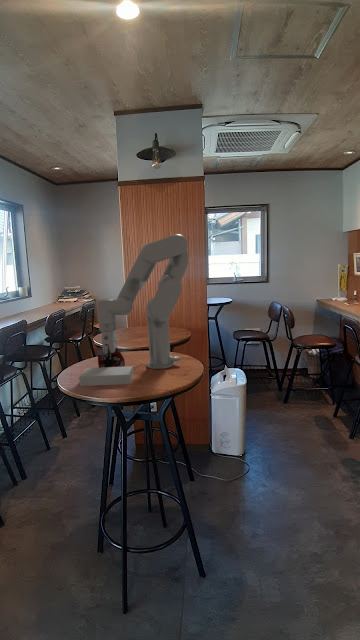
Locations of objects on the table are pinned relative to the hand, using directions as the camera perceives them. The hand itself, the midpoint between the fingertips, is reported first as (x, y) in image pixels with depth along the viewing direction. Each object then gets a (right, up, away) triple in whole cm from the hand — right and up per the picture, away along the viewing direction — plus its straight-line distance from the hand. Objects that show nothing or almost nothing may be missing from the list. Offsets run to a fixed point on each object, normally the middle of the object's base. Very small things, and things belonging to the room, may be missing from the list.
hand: (110, 364), depth 167 cm
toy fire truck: (0, -3, 0) cm, 3 cm away
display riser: (+1, -5, -13) cm, 14 cm away
